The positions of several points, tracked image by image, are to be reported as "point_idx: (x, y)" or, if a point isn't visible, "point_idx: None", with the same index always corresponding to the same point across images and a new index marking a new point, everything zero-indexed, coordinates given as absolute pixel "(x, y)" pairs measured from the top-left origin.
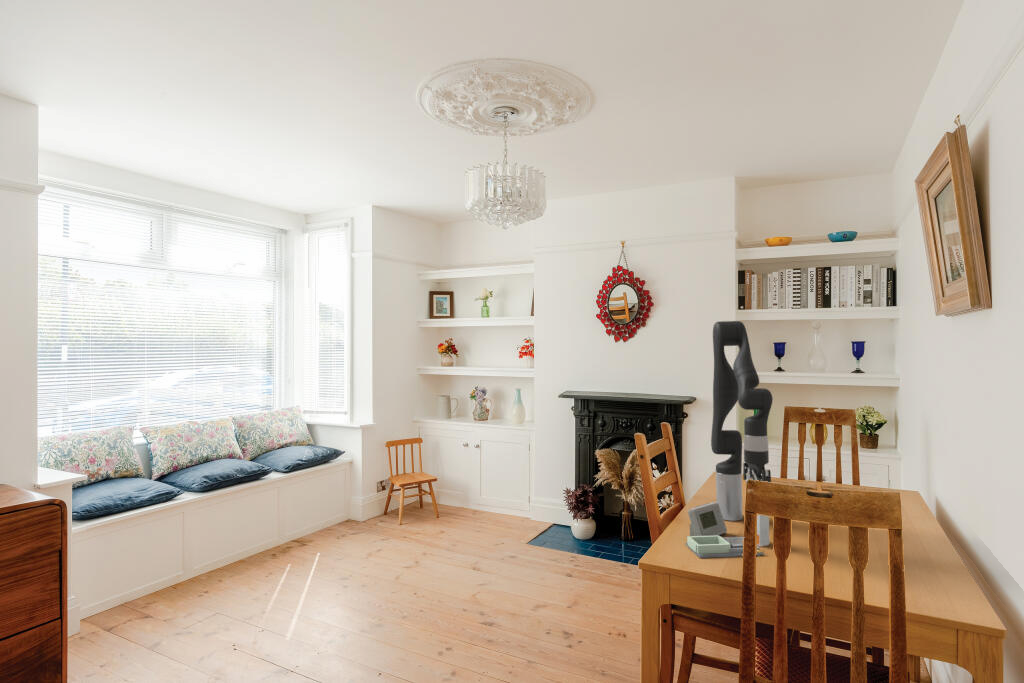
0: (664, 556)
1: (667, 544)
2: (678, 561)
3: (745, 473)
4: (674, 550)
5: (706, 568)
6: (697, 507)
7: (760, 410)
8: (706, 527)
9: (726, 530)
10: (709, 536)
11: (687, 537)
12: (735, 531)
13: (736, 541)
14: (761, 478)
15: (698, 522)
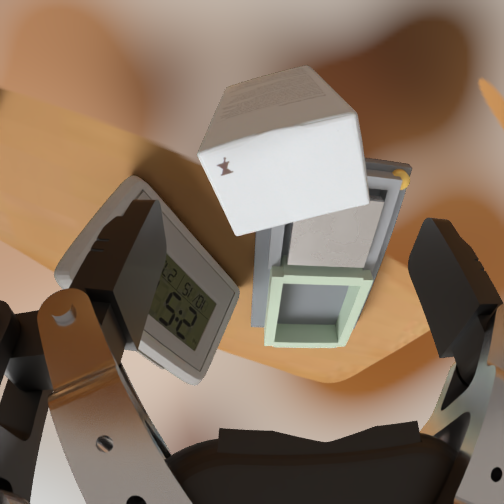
0: (315, 366)
1: (239, 347)
2: (351, 355)
3: (34, 442)
4: (285, 347)
5: (408, 328)
6: (170, 367)
7: None
8: (202, 293)
9: (142, 183)
10: (278, 303)
11: (266, 343)
12: (107, 125)
13: (345, 245)
14: (453, 459)
15: (214, 335)
